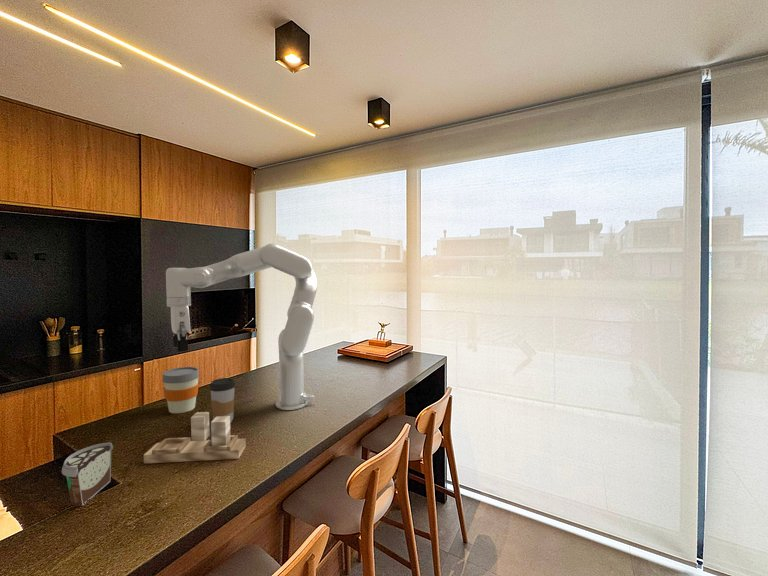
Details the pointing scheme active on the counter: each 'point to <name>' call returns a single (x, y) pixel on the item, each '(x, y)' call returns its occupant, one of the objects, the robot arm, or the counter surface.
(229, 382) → the coffee cup
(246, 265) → the robot arm
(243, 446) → the rail
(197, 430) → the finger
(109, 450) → the food container
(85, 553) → the counter surface
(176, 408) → the reusable coffee cup
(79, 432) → the counter surface
